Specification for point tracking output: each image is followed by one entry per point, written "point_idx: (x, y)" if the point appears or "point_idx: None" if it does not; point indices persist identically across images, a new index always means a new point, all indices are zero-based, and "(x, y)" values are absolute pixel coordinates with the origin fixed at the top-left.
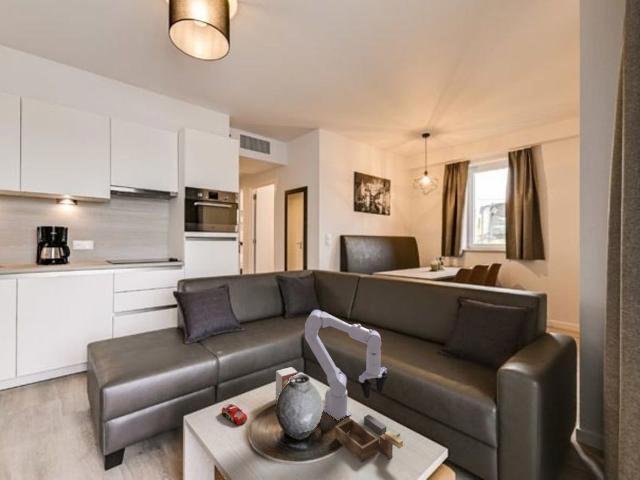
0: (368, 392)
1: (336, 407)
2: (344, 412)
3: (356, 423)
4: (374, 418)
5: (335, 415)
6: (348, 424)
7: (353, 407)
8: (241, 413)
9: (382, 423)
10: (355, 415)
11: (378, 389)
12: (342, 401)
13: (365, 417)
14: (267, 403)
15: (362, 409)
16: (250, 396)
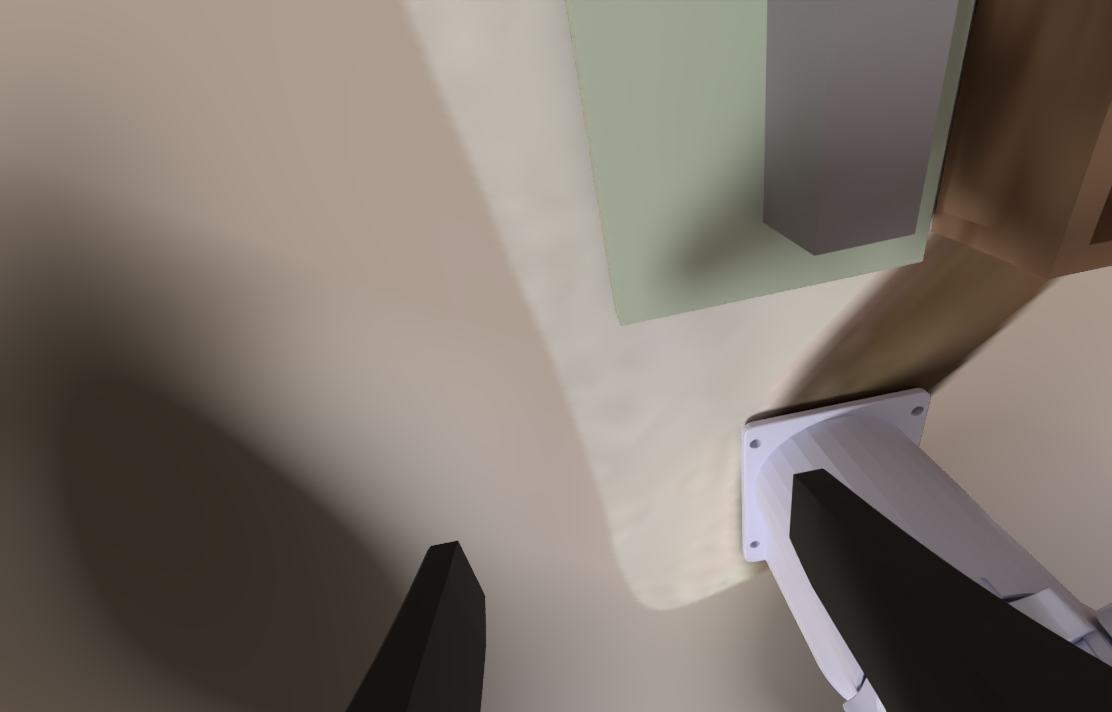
0: (943, 575)
1: (972, 499)
2: (855, 442)
3: (1108, 153)
4: (825, 122)
5: (914, 443)
6: (1105, 223)
7: (652, 493)
8: None
9: (627, 112)
10: (716, 404)
11: (472, 610)
12: (981, 542)
13: (912, 210)
14: None
15: (598, 451)
16: None
